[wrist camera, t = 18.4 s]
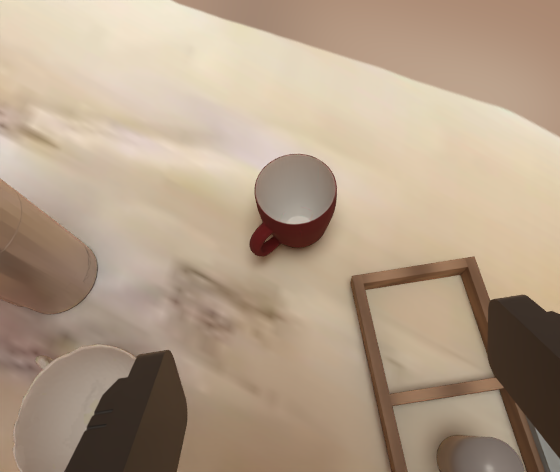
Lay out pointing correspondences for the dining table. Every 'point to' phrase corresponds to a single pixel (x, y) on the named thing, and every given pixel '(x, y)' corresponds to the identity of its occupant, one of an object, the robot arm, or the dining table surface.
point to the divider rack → (534, 449)
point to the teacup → (64, 404)
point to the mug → (293, 202)
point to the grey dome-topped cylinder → (477, 455)
